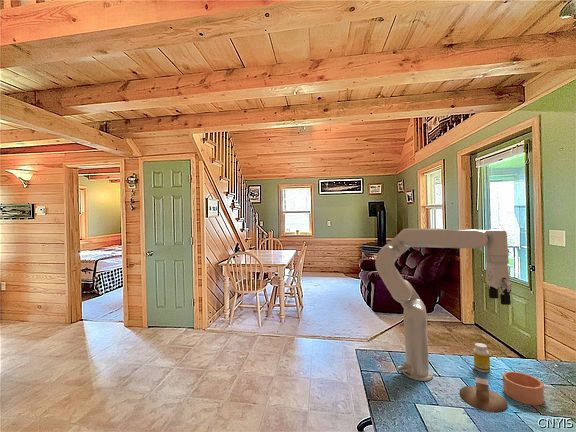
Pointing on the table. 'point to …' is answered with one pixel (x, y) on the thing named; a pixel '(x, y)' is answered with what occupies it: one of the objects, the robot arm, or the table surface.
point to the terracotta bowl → (523, 388)
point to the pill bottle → (481, 358)
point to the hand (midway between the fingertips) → (499, 301)
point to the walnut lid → (483, 397)
